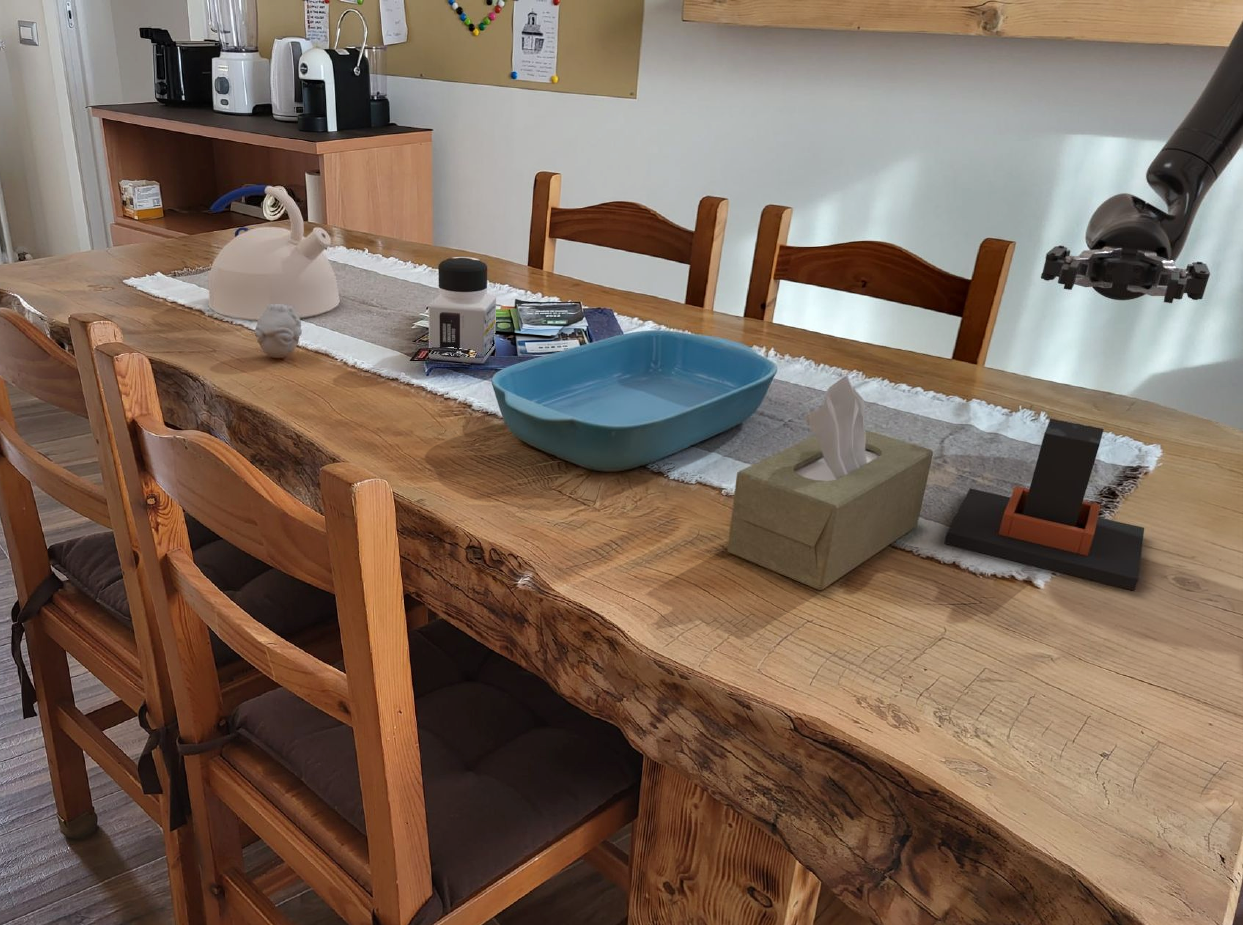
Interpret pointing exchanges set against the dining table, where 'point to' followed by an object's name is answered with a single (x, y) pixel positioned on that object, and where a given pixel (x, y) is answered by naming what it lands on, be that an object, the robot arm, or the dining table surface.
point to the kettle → (272, 266)
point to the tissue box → (828, 496)
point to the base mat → (1049, 538)
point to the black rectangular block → (1062, 472)
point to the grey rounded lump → (278, 330)
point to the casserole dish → (632, 396)
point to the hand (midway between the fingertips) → (1119, 285)
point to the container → (462, 310)
